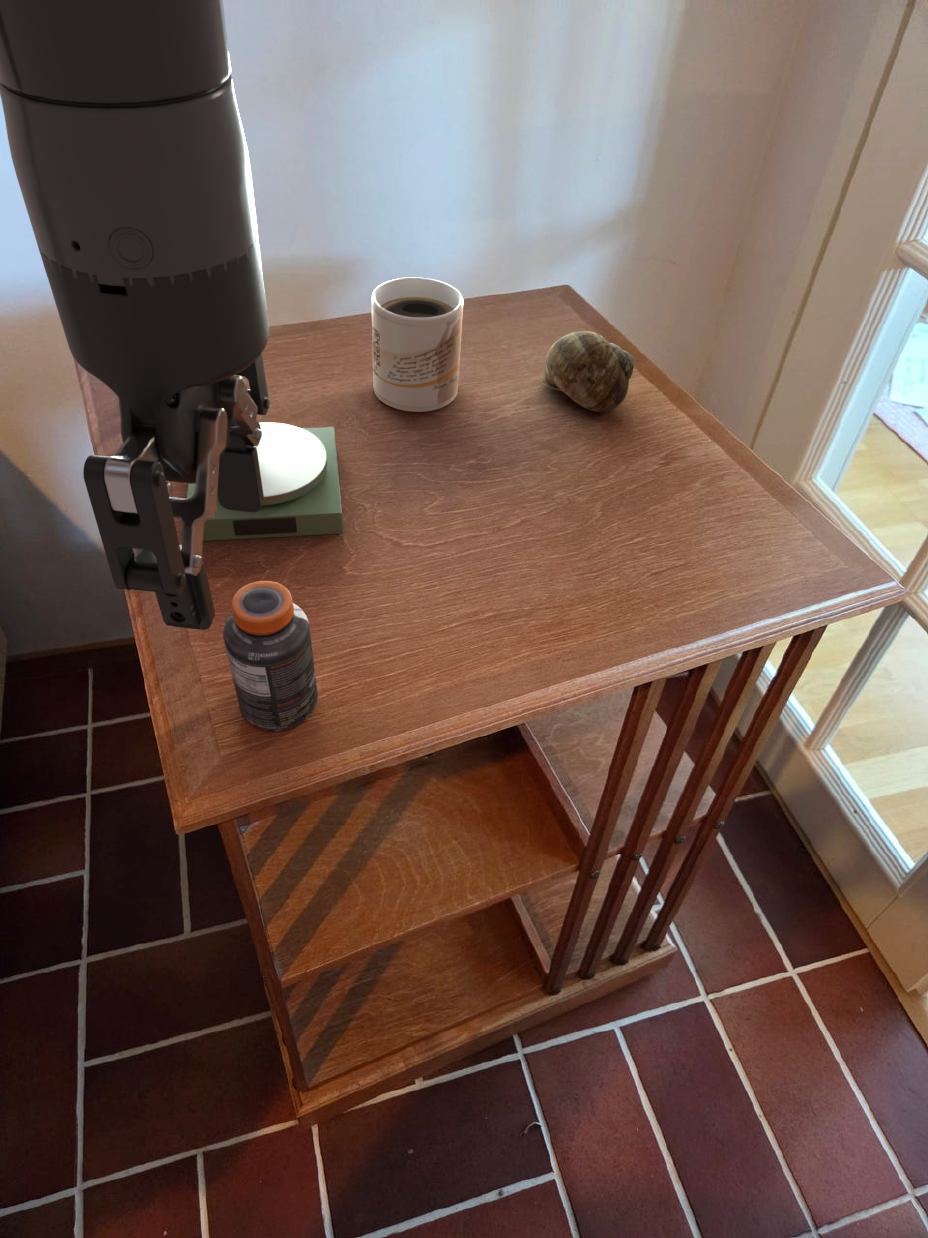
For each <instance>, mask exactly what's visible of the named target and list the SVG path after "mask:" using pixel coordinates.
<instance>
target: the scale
mask: <svg viewBox="0 0 928 1238" xmlns="http://www.w3.org/2000/svg"><path fill="white" fill-rule="evenodd" d="M259 423H260V427H261V430H262V437H261V439H260V443H259V445H258V446H254V447H257V453H258V460H259V467H260V474H261V481H262V488H263V495H264V501H263V503H262V505H261V508H260V510H259V511H257V512H246V511H237V510H228V509H226V508H224V507H222V506H221V504H220V503H219V499H218V493H217V509H216V513H215V515H214V516H213V517H212V518H210V519H208V520H206V521H205V523H204V531H203V542H210V541H211V542H212V541H213V542H214V541H228V540H229V541H231V540H246V539H247V540H248V539H265V538H283V537H285V538H286V537H300V536H301V537H303V536H322V535H323V536H324V535H337V534H338V535H339V534H344V527H343V512H342V511H343V510H342V499H341V488H340V487H341V486H340V477H339V476H340V475H339V465H338V455H337V453H338V452H337V442H336V430H335V427H334V426H329V427H327V426H326V427H325V426H324V427H302V428H301V427H298V426H295V425H292V424H288V423H283V422H268V421H267V422H263V421H262V422H259ZM195 489H196V484H190V483H187V489H186V490H187V492H186V499H190V498H191V497H192V496H193V495H194V493H195Z"/></svg>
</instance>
